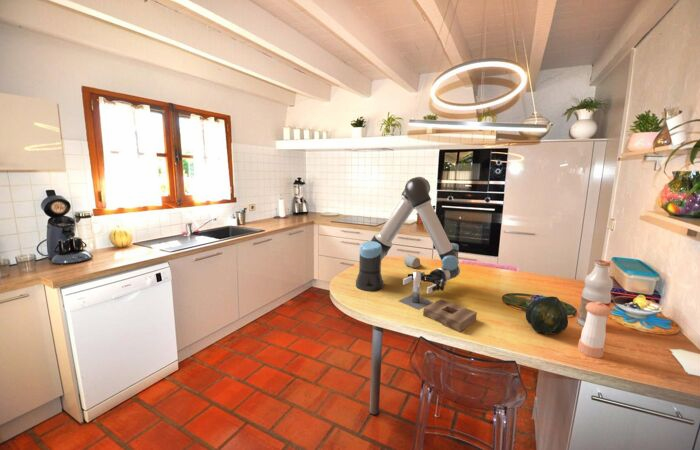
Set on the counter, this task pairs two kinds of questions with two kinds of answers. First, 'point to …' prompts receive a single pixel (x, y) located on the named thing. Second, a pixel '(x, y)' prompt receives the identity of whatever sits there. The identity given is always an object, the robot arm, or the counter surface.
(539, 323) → the squash
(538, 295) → the pudding
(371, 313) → the counter surface
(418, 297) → the metal pin
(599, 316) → the pepper shaker
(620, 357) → the counter surface
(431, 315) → the socket block
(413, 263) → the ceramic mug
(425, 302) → the rubber mat
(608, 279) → the fruit juice
